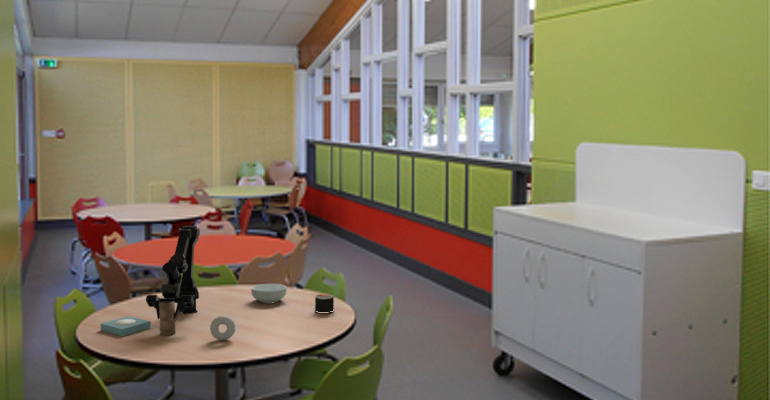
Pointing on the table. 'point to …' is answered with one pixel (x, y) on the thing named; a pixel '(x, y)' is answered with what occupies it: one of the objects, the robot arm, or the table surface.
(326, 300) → the sushi
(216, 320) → the donut
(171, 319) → the walnut post
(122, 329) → the plinth
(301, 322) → the table surface
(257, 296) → the cereal bowl
